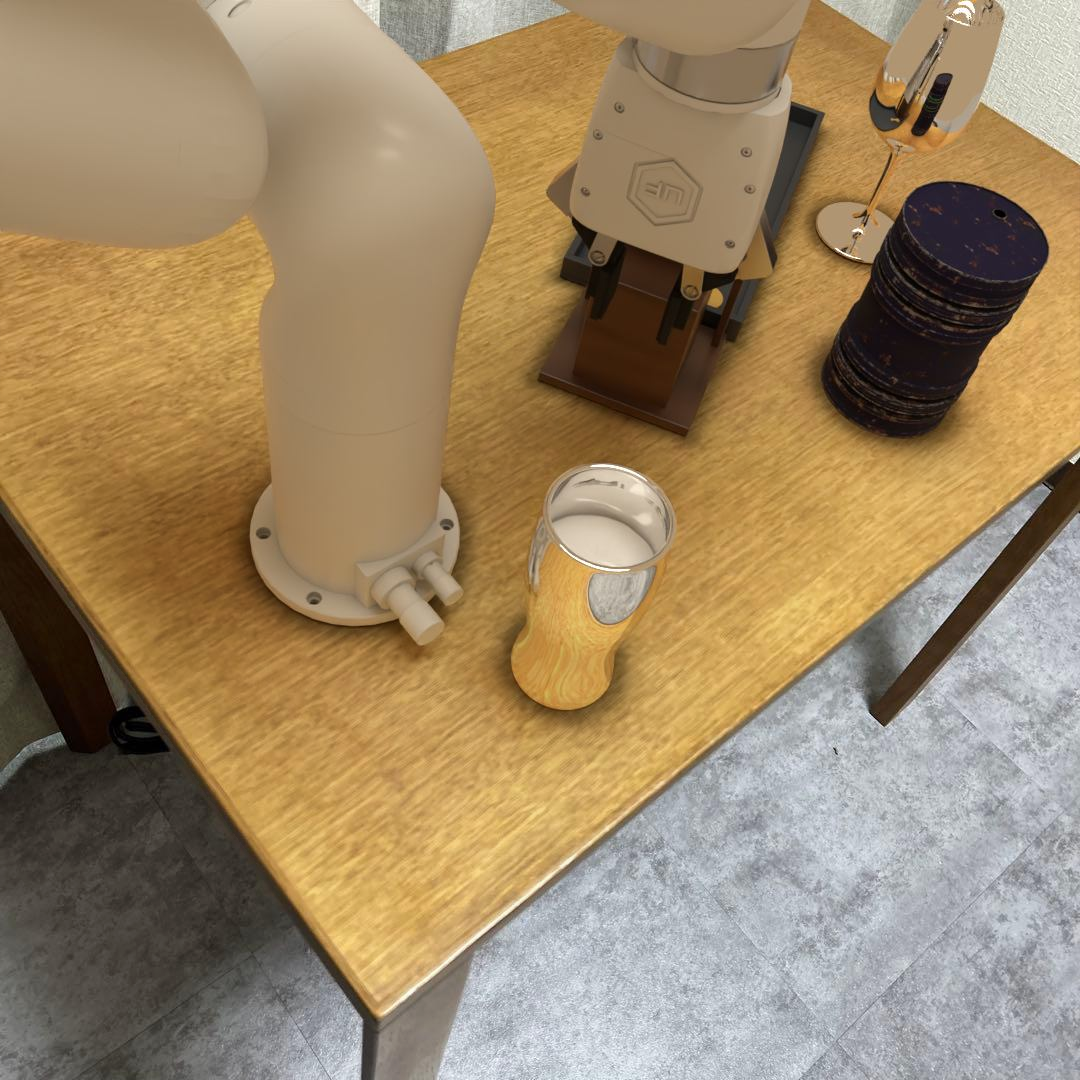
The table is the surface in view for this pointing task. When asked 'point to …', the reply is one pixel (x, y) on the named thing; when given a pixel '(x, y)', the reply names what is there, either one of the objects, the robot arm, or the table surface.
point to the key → (716, 299)
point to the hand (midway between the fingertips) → (635, 316)
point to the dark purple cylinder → (932, 306)
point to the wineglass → (919, 105)
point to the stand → (640, 347)
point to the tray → (786, 178)
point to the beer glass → (589, 579)
